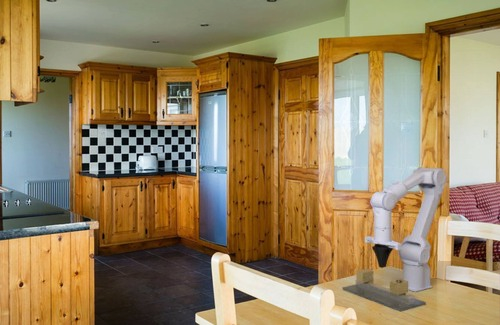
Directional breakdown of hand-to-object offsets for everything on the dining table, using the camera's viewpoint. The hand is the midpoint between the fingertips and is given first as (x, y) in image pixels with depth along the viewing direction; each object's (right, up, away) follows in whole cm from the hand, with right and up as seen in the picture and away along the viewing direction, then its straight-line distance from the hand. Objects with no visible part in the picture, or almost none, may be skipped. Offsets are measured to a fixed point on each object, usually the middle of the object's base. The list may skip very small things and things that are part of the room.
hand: (382, 266), depth 164 cm
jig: (0, -10, -1) cm, 10 cm away
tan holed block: (+4, -9, -6) cm, 11 cm away
